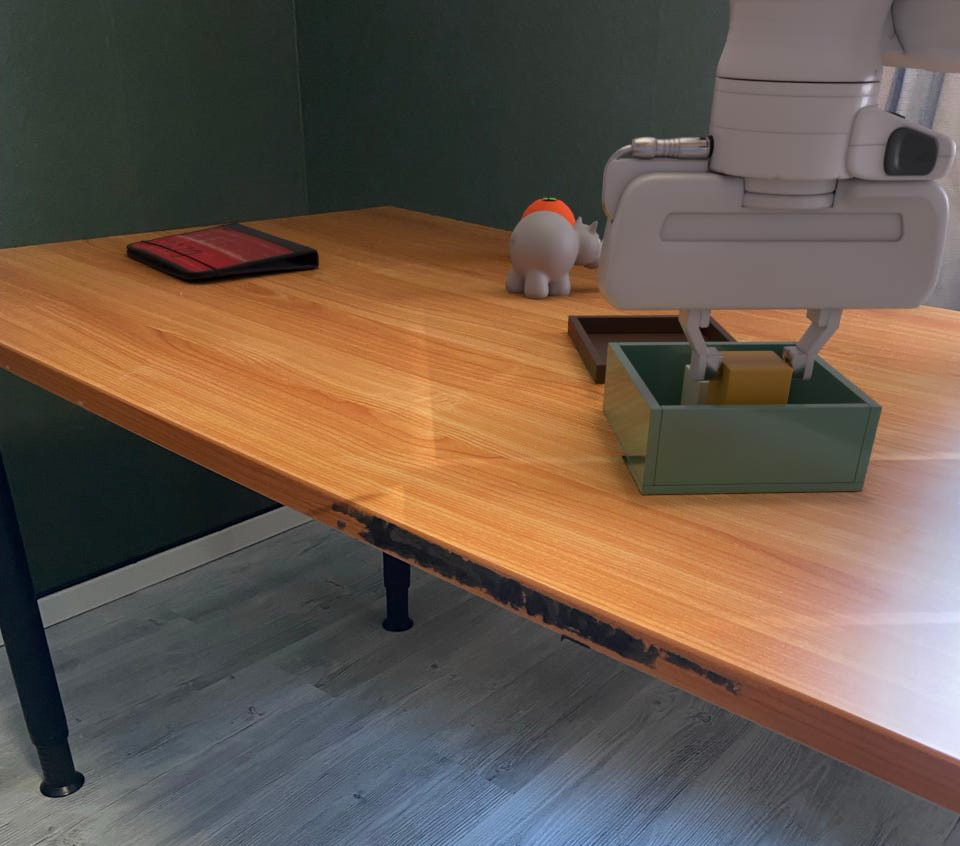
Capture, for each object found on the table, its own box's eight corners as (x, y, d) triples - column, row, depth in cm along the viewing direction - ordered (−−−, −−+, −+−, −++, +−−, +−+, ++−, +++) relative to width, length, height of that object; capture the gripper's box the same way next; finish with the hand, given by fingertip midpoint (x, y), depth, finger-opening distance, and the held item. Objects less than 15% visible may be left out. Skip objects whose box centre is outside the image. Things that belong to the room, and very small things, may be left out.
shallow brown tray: (707, 337, 94) (710, 314, 93) (757, 389, 81) (761, 363, 80) (567, 338, 93) (568, 315, 92) (594, 390, 80) (596, 364, 79)
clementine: (518, 250, 127) (520, 190, 123) (572, 251, 127) (576, 191, 123) (518, 263, 121) (520, 200, 117) (575, 265, 120) (579, 201, 117)
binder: (237, 220, 129) (319, 247, 115) (240, 239, 131) (321, 268, 117) (118, 238, 121) (190, 270, 107) (122, 258, 123) (194, 292, 109)
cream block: (731, 417, 73) (740, 363, 71) (747, 437, 70) (757, 381, 68) (678, 418, 73) (685, 364, 71) (692, 437, 70) (699, 381, 68)
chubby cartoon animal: (623, 295, 108) (631, 211, 103) (529, 307, 103) (533, 219, 98) (586, 281, 113) (591, 201, 108) (495, 292, 108) (496, 208, 103)
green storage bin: (787, 414, 76) (801, 341, 73) (862, 491, 64) (882, 406, 61) (601, 416, 75) (607, 342, 72) (641, 494, 63) (651, 409, 60)
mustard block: (762, 409, 67) (772, 350, 65) (782, 430, 63) (793, 368, 61) (704, 410, 67) (712, 350, 64) (721, 431, 63) (730, 369, 61)
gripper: (616, 142, 53) (597, 396, 60) (986, 144, 54) (923, 392, 62) (596, 130, 58) (580, 365, 65) (933, 133, 59) (881, 362, 67)
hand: (749, 378), depth 64 cm, fingers open, 5 cm apart
